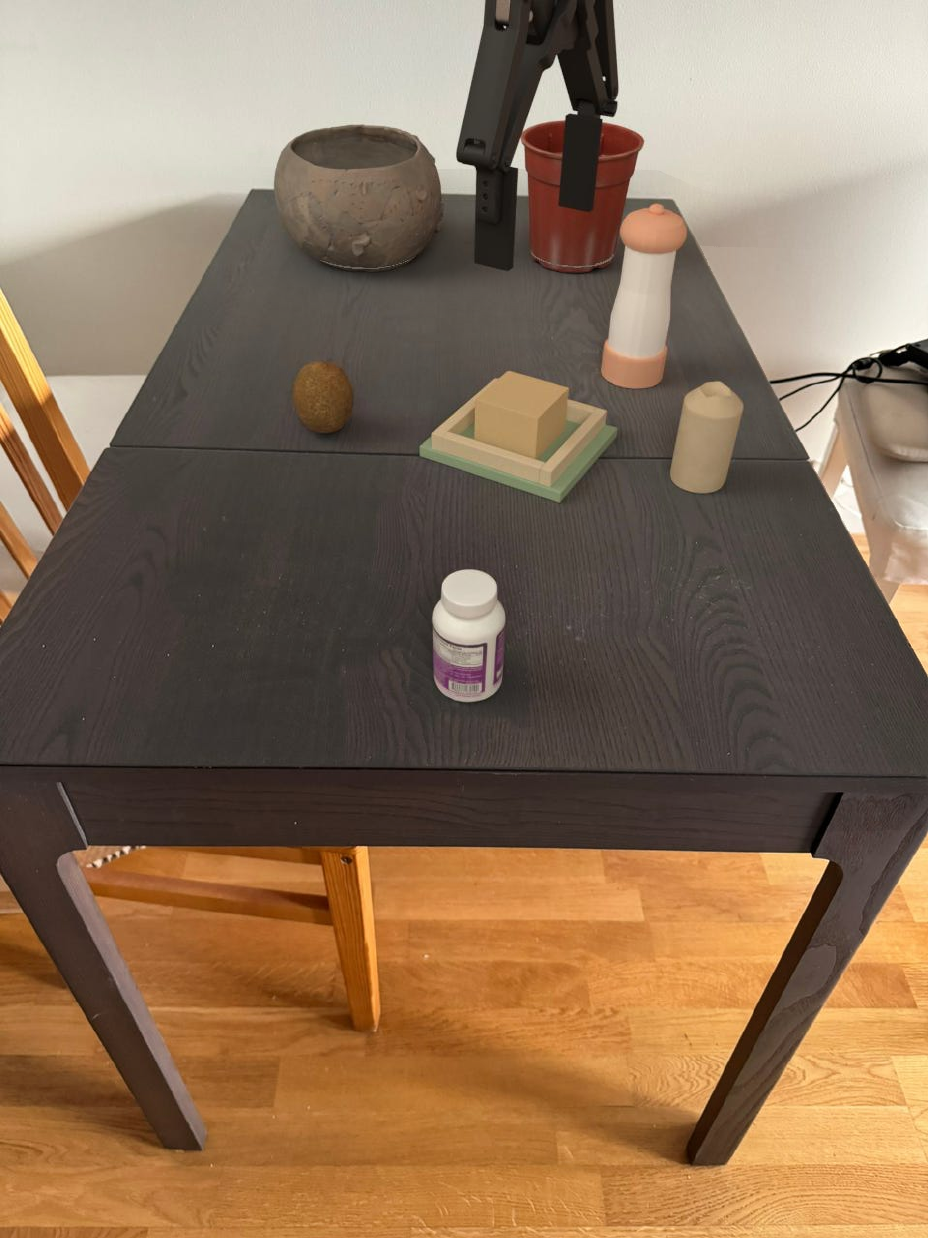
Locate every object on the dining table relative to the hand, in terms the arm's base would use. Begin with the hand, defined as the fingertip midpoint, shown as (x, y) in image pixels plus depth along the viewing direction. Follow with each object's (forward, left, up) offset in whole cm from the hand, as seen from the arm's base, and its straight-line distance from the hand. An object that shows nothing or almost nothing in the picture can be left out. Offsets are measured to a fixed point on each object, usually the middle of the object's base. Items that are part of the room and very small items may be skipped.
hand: (537, 235), depth 69 cm
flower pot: (+23, -61, -27) cm, 71 cm away
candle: (-12, -16, -27) cm, 34 cm away
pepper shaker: (+2, -33, -27) cm, 43 cm away
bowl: (+49, -46, -27) cm, 73 cm away
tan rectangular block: (+6, -12, -26) cm, 29 cm away
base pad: (+6, -12, -27) cm, 30 cm away
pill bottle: (-6, +20, -27) cm, 34 cm away
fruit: (+25, -4, -27) cm, 37 cm away
